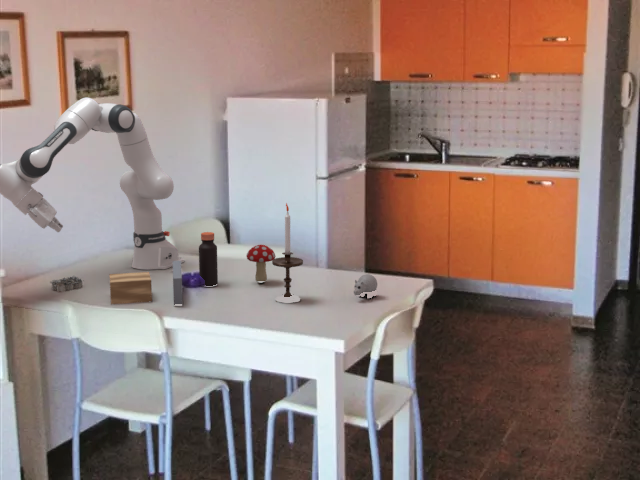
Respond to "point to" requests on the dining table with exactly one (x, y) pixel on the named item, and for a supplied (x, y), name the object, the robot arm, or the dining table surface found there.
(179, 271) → the slate board
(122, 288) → the oak block
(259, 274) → the decorative mushroom
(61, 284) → the egg carton
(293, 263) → the candlestick
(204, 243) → the bottle
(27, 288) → the dining table surface
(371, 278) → the round bodied animal figurine
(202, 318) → the dining table surface
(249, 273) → the dining table surface
